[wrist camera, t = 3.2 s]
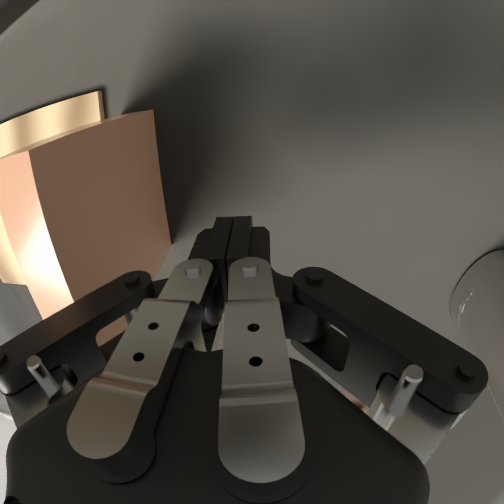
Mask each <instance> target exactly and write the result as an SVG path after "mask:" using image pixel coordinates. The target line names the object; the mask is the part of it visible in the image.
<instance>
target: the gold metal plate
mask: <svg viewBox="0 0 504 504" xmlns="http://www.w3.org/2000/svg"><path fill="white" fill-rule="evenodd" d="M104 119H105V118H104V109H103V99H102V91H96V92H92V93H89V94H85V95H81V96H78V97H74V98H71V99H68V100H64V101H61V102H58V103H55V104H52V105H49V106H46V107H43V108H40V109H38V110H35V111H32V112H29V113H27V114H24V115H22V116H19V117H17V118H14V119H12V120H9V121H7V122H4V123H2V124H0V157H3V156H5V155H7V154H9V153H12V152H14V151H16V150H18V149H21V148H23V147H26V146H28V145H31V144H33V143H36V142H38V141H41V140H43V139H46V138H49V137H51V136H54V135H57V134H60V133H62V132H65V131H68V130H71V129H74V128H77V127H80V126H84V125H87V124H90V123H93V122H97V121H100V120H104ZM0 277H1V280H2V282H3V283H13V284H24V285H27V284H26V282H25V279H24V277H23V275H22V272H21V270H20V267H19V265H18V262H17V260H16V257H15V255H14V252H13V249H12V246H11V244H10V241H9V238H8V235H7V232H6V229H5V226H4V223H3V220H2V217H1V213H0Z"/></svg>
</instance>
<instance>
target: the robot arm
mask: <svg viewBox="0 0 504 504" xmlns="http://www.w3.org/2000/svg"><path fill="white" fill-rule="evenodd" d="M223 312H225V314H224V338H223V349H222V350H216V349H217V345H218V341H219V337H220V333H221V329H222V324H221V319H222V313H223ZM450 312H451V316H452V318H453V320H454V322H455V323H456V325H457V327H458V329H459V330H460V332H461V334H462V336H463V338H464V339H465V341H466V343H467V345H468V347H469V349H470V351H471V353H472V354H471V353H470V352H468V351H466V350H465V349H463V348H461V347H460V346H458V345H456V344H455V343H453V342H451V341H450V340H448V339H446V338H445V337H443V336H441V335H440V334H438V333H436V332H434V331H433V330H431V329H429V328H428V327H426V326H424V325H423V324H421V323H419V322H418V321H416V320H414V319H412V318H411V317H409V316H407V315H406V314H404V313H402V312H400V311H399V310H397V309H395V308H394V307H392V306H390V305H388V304H387V303H385V302H383V301H381V300H380V299H378V298H376V297H374V296H373V295H371V294H369V293H368V292H366V291H364V290H362V289H361V288H359V287H357V286H355V285H353V284H352V283H350V282H348V281H346V280H345V279H343V278H341V277H339V276H338V275H336V274H334V273H332V272H331V271H329V270H327V269H324V268H320V267H307V268H303V269H300V270H299V271H297V272H296V273H295V274H294V276H293V277H288V276H284V275H281V274H279V273H277V272H275V271H274V270H273V269H272V267H271V264H270V236H269V231H268V230H267V229H266V228H265V227H253V224H252V216H235V217H217V218H216V220H215V223H214V226H213V228H211V229H204V230H203V231H202V232H200V233H199V234H198V235H197V238H196V240H195V243H194V245H193V248H192V250H191V253H190V255H189V258H188V260H186V261H183V262H181V263H179V264H178V265H177V266H176V267H175V268H174V270H173V272H172V273H171V275H170V277H169V278H167V279H162V280H158V281H153V282H152V279H151V275H150V274H149V273H148V272H146V271H140V270H137V271H131V272H128V273H125V274H123V275H121V276H119V277H118V278H116V279H114V280H112V281H110V282H109V283H107V284H105V285H103V286H101V287H100V288H98V289H96V290H94V291H92V292H91V293H89V294H87V295H85V296H84V297H82V298H80V299H78V300H77V301H75V302H73V303H71V304H70V305H68V306H66V307H65V308H63V309H61V310H59V311H58V312H56V313H54V314H53V315H51V316H49V317H47V318H46V319H44V320H42V321H41V322H39V323H37V324H36V325H34V326H32V327H31V328H29V329H27V330H26V331H24V332H23V333H21V334H19V335H18V336H16V337H14V338H13V339H11V340H9V341H8V342H6V343H5V344H3V345H1V346H0V392H1V393H2V394H3V396H4V397H5V398H6V400H7V403H8V406H9V409H10V412H11V414H12V417H13V420H14V422H15V425H16V427H17V430H16V432H15V433H14V434H13V436H12V437H11V439H10V441H9V444H8V448H7V453H6V466H7V490H6V498H5V501H4V504H428V500H429V494H430V483H429V477H428V473H427V471H426V468H425V466H424V464H425V463H426V462H427V460H428V459H429V457H430V456H431V455H432V454H433V452H434V451H435V450H436V448H437V447H438V445H439V444H440V443H441V441H442V440H443V438H444V437H445V436H446V434H448V432H449V431H450V430H451V429H452V428H453V427H454V426H455V425H456V423H457V422H458V421H459V420H460V419H461V417H462V416H463V415H464V414H465V413H466V411H467V410H468V409H469V408H470V406H471V405H472V404H473V403H474V401H475V400H476V399H477V397H478V396H479V395H480V393H481V392H482V391H483V389H484V388H485V387H486V385H488V387H489V389H490V391H491V393H492V396H493V398H494V400H495V402H496V404H497V407H498V409H499V412H500V414H501V416H502V419H503V421H504V250H498V251H494V252H491V253H489V254H487V255H485V256H484V257H482V258H481V259H479V260H478V261H477V262H476V263H475V264H473V265H472V266H471V267H470V268H469V269H468V271H467V272H466V273H465V274H464V276H463V277H462V278H461V280H460V282H459V283H458V285H457V287H456V289H455V291H454V293H453V296H452V300H451V305H450ZM122 316H125V319H126V321H127V324H128V327H127V329H126V330H125V331H123V332H122V333H120V334H118V335H117V336H115V337H114V338H112V339H111V340H109V341H107V342H106V343H104V344H103V345H101V346H98V344H97V342H96V336H97V334H98V332H99V331H100V330H101V329H103V328H104V327H106V326H108V325H109V324H111V323H112V322H114V321H116V320H117V319H119V318H120V317H122ZM331 324H332V325H333V326H335V327H336V328H338V329H339V330H341V331H342V332H343V333H345V335H346V336H347V337H348V338H347V337H345V336H344V335H342V334H341V333H340V332H338V331H337V330H335V329H334V328H332V327H331V326H330V325H331ZM286 338H287V339H291V344H292V346H293V347H294V348H295V349H296V350H297V351H298V352H300V353H301V354H302V355H303V356H304V357H306V358H307V359H308V360H309V361H311V362H312V363H313V364H314V365H316V366H317V367H318V368H319V369H321V370H322V371H323V372H324V373H326V374H327V375H328V376H329V377H331V378H332V379H333V380H334V381H336V382H337V383H338V384H339V385H341V386H342V387H343V388H345V389H346V390H347V391H348V392H350V393H351V394H352V395H354V396H355V397H356V398H358V399H359V400H360V401H361V402H363V403H364V404H365V405H367V406H368V407H369V408H370V410H369V416H370V417H369V416H368V415H367V414H365V413H364V412H363V411H362V410H361V409H359V408H358V407H357V406H356V405H355V404H353V403H352V402H351V401H350V400H349V399H347V398H346V397H345V396H344V395H343V394H341V393H340V392H339V391H338V390H337V389H336V388H334V387H333V386H332V385H331V384H330V383H329V382H327V381H326V380H325V379H324V378H323V377H322V376H321V375H319V374H318V373H317V372H316V371H315V370H313V369H312V368H311V367H309V366H308V365H306V364H304V363H302V362H300V361H298V360H295V359H292V358H289V355H288V349H287V344H286Z"/></svg>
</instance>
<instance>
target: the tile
mask: <svg viewBox="0 0 504 504" xmlns="http://www.w3.org/2000/svg"><path fill="white" fill-rule="evenodd" d="M0 213H1V217H2V220H3V223H4V226H5V229H6V232H7V235H8V238H9V241H10V244H11V246H12V249H13V252H14V255H15V257H16V260H17V262H18V265H19V267H20V270H21V272H22V275H23V277H24V279H25V282H26V284H27V286H28V288H29V291H30V293H31V295H32V297H33V299H34V301H35V304H36V306H37V308H38V310H39V312H40V314H41V316H42V318H43V320H44V319H46V318H47V317H49V316H51V315H53V314H54V313H56V312H58V311H59V310H61V309H63V308H65V307H66V306H68V305H70V304H71V303H73V302H75V301H77V300H78V299H80V298H82V297H84V296H85V295H87V294H89V293H91V292H92V291H94V290H96V289H98V288H100V287H101V286H103V285H105V284H107V283H109V282H110V281H112V280H114V279H116V278H118V277H119V276H121V275H123V274H125V273H128V272H131V271H137V270H140V271H146V272H148V273H149V274H150V275H151V279H152V281H153V279H154V277H155V275H156V273H157V271H158V269H159V267H160V265H161V264H162V262H163V260H164V258H165V256H166V254H167V252H168V251H169V249H170V247H171V239H170V233H169V227H168V221H167V215H166V209H165V202H164V196H163V189H162V181H161V174H160V166H159V158H158V150H157V141H156V132H155V122H154V111H153V110H146V111H140V112H134V113H128V114H122V115H118V116H114V117H111V118H107V119H104V120H100V121H97V122H93V123H90V124H87V125H84V126H80V127H77V128H74V129H71V130H68V131H65V132H62V133H60V134H57V135H54V136H51V137H49V138H46V139H43V140H41V141H38V142H36V143H33V144H31V145H28V146H26V147H23V148H21V149H18V150H16V151H14V152H12V153H9V154H7V155H5V156H3V157H0ZM127 327H128V324H127V321H126V319H125V316H122V317H120V318H119V319H117V320H116V321H114V322H112V323H111V324H109V325H108V326H106V327H104V328H103V329H101V330H100V331H99V332H98V334H97V336H96V342H97V344H98V346H101V345H103V344H104V343H106V342H107V341H109V340H111V339H112V338H114V337H115V336H117V335H118V334H120V333H122V332H123V331H125V330H126V329H127Z"/></svg>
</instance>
